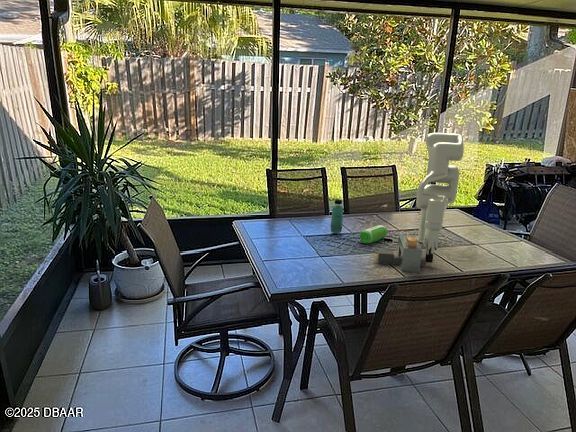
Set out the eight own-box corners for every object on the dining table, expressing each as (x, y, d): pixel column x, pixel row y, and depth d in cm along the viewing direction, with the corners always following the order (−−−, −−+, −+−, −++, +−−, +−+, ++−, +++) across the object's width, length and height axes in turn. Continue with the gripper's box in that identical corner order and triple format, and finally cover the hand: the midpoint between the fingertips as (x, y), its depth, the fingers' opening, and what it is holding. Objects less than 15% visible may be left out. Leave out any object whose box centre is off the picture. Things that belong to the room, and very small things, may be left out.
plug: (373, 258, 205) (373, 249, 203) (423, 262, 202) (425, 253, 200) (373, 262, 200) (374, 252, 198) (425, 266, 197) (427, 256, 196)
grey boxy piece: (396, 255, 211) (399, 228, 207) (412, 256, 210) (416, 229, 206) (401, 270, 191) (404, 241, 188) (419, 272, 190) (422, 243, 187)
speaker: (369, 245, 223) (370, 232, 221) (358, 242, 228) (359, 229, 226) (387, 238, 235) (388, 226, 233) (376, 235, 240) (377, 223, 238)
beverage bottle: (328, 232, 242) (330, 198, 236) (338, 231, 244) (340, 198, 239) (333, 236, 236) (335, 201, 231) (343, 235, 238) (346, 200, 233)
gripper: (422, 219, 201) (418, 255, 206) (428, 229, 187) (423, 267, 192) (438, 220, 200) (433, 256, 205) (445, 230, 186) (440, 268, 191)
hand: (428, 261), depth 199 cm, fingers closed
